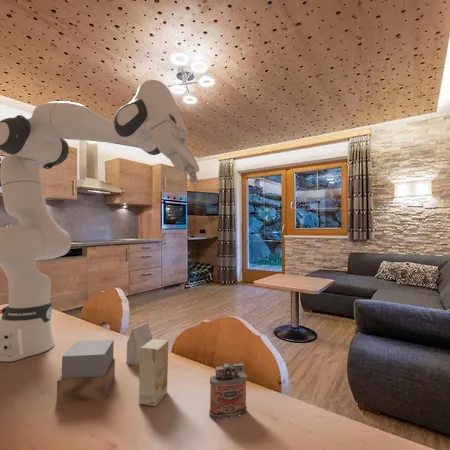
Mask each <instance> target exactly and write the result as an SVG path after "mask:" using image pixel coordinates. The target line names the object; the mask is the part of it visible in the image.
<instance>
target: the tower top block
mask: <svg viewBox="0 0 450 450" xmlns="http://www.w3.org/2000/svg"><path fill="white" fill-rule="evenodd" d="M114 342H115V341H114V339H97V340H77V341H75V342H74V344H72V346H70V348H69V349H68V350H67V351H66V352H64V354H63V355H62V356H61V376H62V379H70V378H87V377H103V376H104V375H105V373H106V372H107V370H108V368H109V366H110V364H111V362H112V360H113V358H114V351H115V350H114V345H115V343H114Z"/></svg>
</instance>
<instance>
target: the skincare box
mask: <svg viewBox="0 0 450 450" xmlns="http://www.w3.org/2000/svg"><path fill="white" fill-rule="evenodd" d="M168 362H169V340H167V339H159V338H152V340H150V341H149V342H148V343H146V344H145V345H144V346H143V347H141V352H140V364H139V388H138V404H140V405H146V406H154V407H156V406H158V405H159V403H160V402H161V401H162V399H163V398H164V397H165V395H166V394H167V392H168V372H169V371H168V370H169V369H168V368H169V367H168V365H169V363H168Z"/></svg>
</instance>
